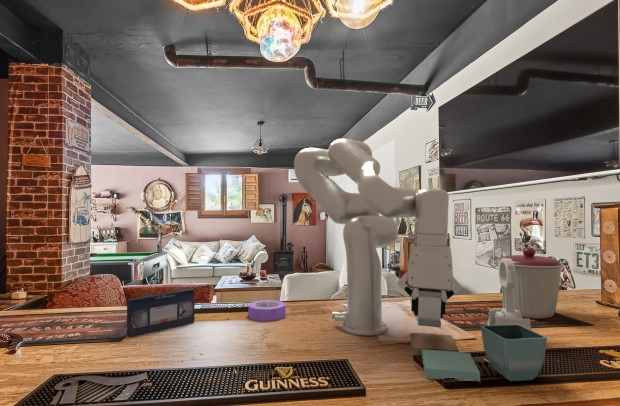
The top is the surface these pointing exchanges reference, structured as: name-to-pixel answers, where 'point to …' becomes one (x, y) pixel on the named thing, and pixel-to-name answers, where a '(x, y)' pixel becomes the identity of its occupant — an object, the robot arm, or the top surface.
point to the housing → (429, 307)
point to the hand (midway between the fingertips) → (427, 314)
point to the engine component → (507, 298)
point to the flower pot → (514, 350)
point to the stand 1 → (431, 343)
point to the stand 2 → (449, 365)
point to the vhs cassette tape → (160, 312)
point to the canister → (535, 284)
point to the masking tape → (266, 310)
